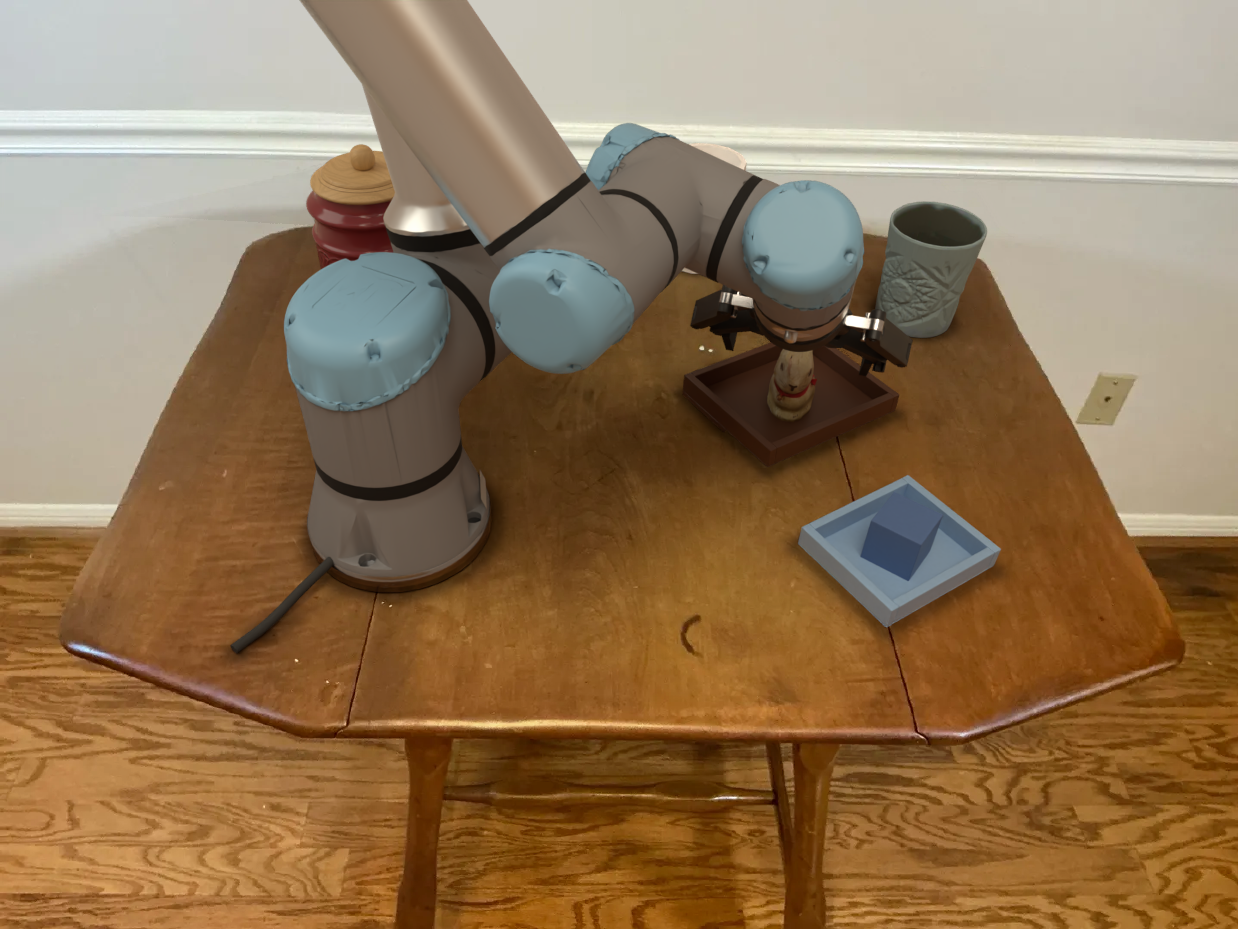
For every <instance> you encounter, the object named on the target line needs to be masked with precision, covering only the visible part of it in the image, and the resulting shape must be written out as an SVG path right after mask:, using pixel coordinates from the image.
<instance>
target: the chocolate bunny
mask: <svg viewBox="0 0 1238 929" xmlns="http://www.w3.org/2000/svg"><path fill="white" fill-rule="evenodd" d="M813 372H814V362H813V350H812V351H807V352H792V351H788V350H784V349H783V350H782V352H781V354H780V357H779V359H778V361H777V364H776V366H775V368H774V374H773V375H772V378H771V380H770V384H769V393H768V396H767V397H768V398H767V404H768V405H769V407H770V410H771V412H772V414H773V415H774V416H775V417H776V418H778V419H780V420H783V421H788V422H793V421H796V420H799V419H801V418H802V416H803V415H804V414H806V413H808V411H809V410H810V408H811V405H812V400H813V397H814V393H815V384H816V381H817V379H815V378H814V374H813Z"/></svg>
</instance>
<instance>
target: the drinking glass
mask: <svg viewBox="0 0 1238 929" xmlns="http://www.w3.org/2000/svg"><path fill="white" fill-rule="evenodd" d="M887 230H888V232H887V241H886V242H887V243H886V246H885V250H884V251H885V252H884V255H885V260H884V263H883V267H882V270H881V272H882V273H881V277H880V282H879V283H880V284H879V286H878V288H877V289H878V290H877V291H878V292H877V295H876V301H875V308H874V310H875V309H881V310H882V311H885V312H886V318H887V319H888V320H889V321H890V322H892V323H893V324H894V325H895V326H896V327H898V328H899V329H900V330H901V331H902V332H904V333H905V334H906V335H907V336H908V337H910V338H918V339H920V338H921V339H925V338H933V337H934V338H935V337H938V336H941V335H942V334H945V332H947V331H948V329H949V328H950V326H951V324H952V321H953V319H954V316H955V314H956V312H957V309H958V306H959V303H960V298H961V295H962V294H963V292H964V290H965V287H966V284H967V281H968V278H969V276H970V274H971V272H972V271H973V269H974V266H975V264H976V262H977V260H978V258H979V255H980V252H981V251H982V247H983V245H984V243H985V240H986V238H987V235H988V227H987V226H986V223H985V222H984V221H983V220H982V218H980V217H979V216H977V215H976V213H975V214H974V213H973V212H971V211H969V210H967V209H965V208H963V207H960V206H956V205H954V204H950V203H945V202H940V201H939V202H938V201H923V200H922V201H916V202H915V201H913V202H909V203H906V204H903V205H901V206H899V207H898V208H896V209H894V211H892V213H891V215H890V217H889V224H888V229H887Z"/></svg>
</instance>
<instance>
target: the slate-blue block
mask: <svg viewBox="0 0 1238 929" xmlns="http://www.w3.org/2000/svg"><path fill="white" fill-rule="evenodd" d="M942 517H943V514H940V513H938V512H936V511H934V510H932V509H930V508H928V507H926V506H923V505H921V504H919V503H917V502H915V501H913V500H911V499H909V498H906V497H904V496H902V495H900V494H898V493H896V492H893V494H892V495H891V496H890V497H889V499H888V500H887V501H886V502H885V504H884V505H883V506H882V507H881V509H880V510H879V511H878V512H877V514H876V515H875V516H874V517H873V519H872V520H871V522H870V526H869V529H868V532H867V536H866V539H865V543H864V546H863V549H862V553H861V556H860V557H862V558H864V559H866V560H868V561H869V562H871V563H873V564H875V565H877V566H879V567H881V568H883V569H885V570H887V571H889V572H891V573H893V574H895V575H897V576H899V577H901V578H903V579H905V580H907V581H909V580H910V579H911V577H912V576H913V574H914V573H915V572H916V570H917V569H918V567H919V566H920V565H921V563H922V562H923V560H924V559H925V558H926V556H927V555H928V553H929V552H930V550H931V547H932V544H933V542H934V539H935V536H936V533H937V531H938V528H939V525H940V522H941V520H942Z"/></svg>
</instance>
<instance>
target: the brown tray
mask: <svg viewBox="0 0 1238 929" xmlns="http://www.w3.org/2000/svg"><path fill="white" fill-rule="evenodd" d="M782 350H783V349H782V348H779V347H777V346H776V345H774V344H772V343H771V342H769V343H768V342H767V343H766V344H763V345H760V346H758V347H755V348H752V349H749V350H746V351H744V352H741V353H739V354H735V355H733V356H730V357H728V358H725V359H722V360H720V361H717V362H714V363H712V364H709V365H706V366H704V367H701V368H698V369H696V370H693V371H691V372H688V373H684V374H683V383H682V394H681V395H682V396H683V397H684V398H685V399H686V400H687V401H688V402H690V404H691V405H693V406H694V407H695V408H696V409H697V410H698V411H699V412H701V414H703V415H704V417H706V418H707V419H708V420H709V421H710V422H711V423H713V425H715V426H716V427H717V428H718V429H719V430H721V432H723V433H726V432H728V433H729V435H730V436H732V437H733V438H734V439H735V440H736V441H738V443H739V444H741V445H742V446H743V447H744V448H745V449H746V450H747V451H748V452H750V453H751V454H752V455H753V456H754V457H755V458H756V459H757V460H758V461H760V462H761V463H762V464H763V465H764V466H765V467H766V468H770V467H772V466H774V465H776V464H779V463H780V462H782V461H786V460H787V459H789V458H792V457H794V456H797V455H799V454H801V453H803V452H805V451H808V450H810V449H812V448H814V447H818V445H821V444H823V443H826V442H828V441H830V440H832V439H835V438H837V437H840V436H841V435H844V434H846V433H848V432H851V431H853V430H855V429H858V428H860V427H863V426H864V425H866V424H868V423H870V422H873V421H875V420H878V419H880V418H883V417H884V416H886V415H889V414H891V413H893V412H895V411H896V408H897V405H898V402H899V399H900V393H899V392H898V391H896V390H894V389H893V388H892V387H891V386H889V385H888V384H886V383H885V382H884V381H882V380H880V379H879V378H878V377H877V376H875V375H874V374H872V373H871V372H868V374H867V376H861V375H859V371H860V366H861V364H859V363H857V362H856V361H854V360H853V359H852V358H850V356H848V355H846V354H845V353H844V352H842V351H840V349H839V348H828V347H825V346H822V347H820V348H818V349H815V350H813V362H814V372H813V374H814V378H815V379H817V381H816V384H815V393H814V397H813V400H812V405H811V408H810V410H809V411H808V413H806V414H804V415H803V416H802V418H801V419H799V420H796V421H793V422H788V421H783V420H780V419H778V418H776V417H775V416H774V415H773V414H772V412H771V410H770V407H769V405H768V404H767V398H768V397H767V396H768V393H769V384H770V380H771V378H772V375H773V374H774V368H775V366H776V364H777V361H778V359H779V357H780V354H781V352H782Z"/></svg>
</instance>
